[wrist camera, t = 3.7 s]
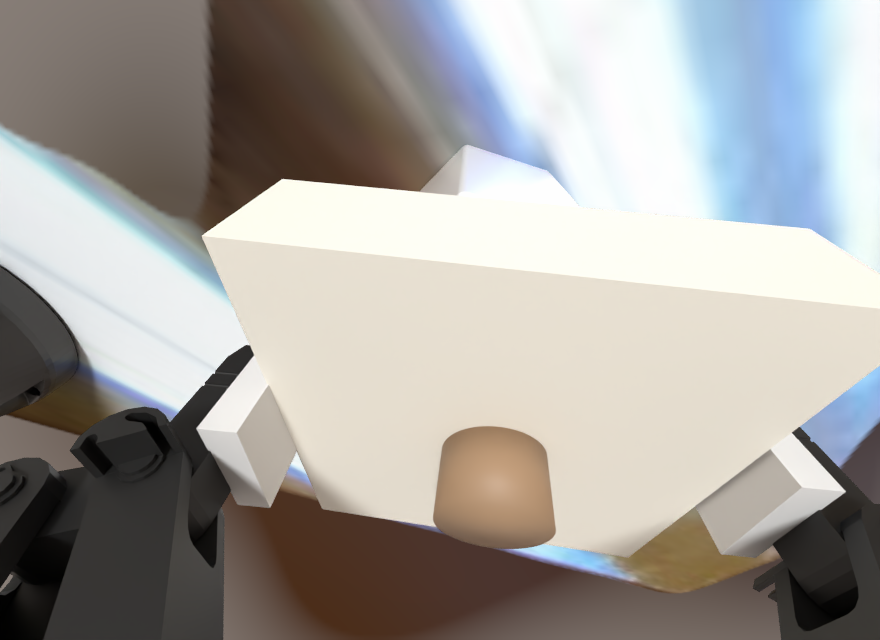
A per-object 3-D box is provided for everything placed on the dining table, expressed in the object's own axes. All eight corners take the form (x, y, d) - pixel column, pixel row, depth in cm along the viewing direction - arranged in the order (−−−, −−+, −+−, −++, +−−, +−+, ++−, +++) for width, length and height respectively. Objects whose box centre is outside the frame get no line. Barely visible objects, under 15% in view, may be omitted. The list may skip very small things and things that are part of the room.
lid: (346, 441, 13) (303, 561, 10) (282, 178, 7) (114, 296, 4) (608, 479, 13) (643, 619, 10) (809, 228, 6) (1102, 415, 3)
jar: (470, 316, 23) (470, 489, 13) (378, 230, 20) (290, 370, 10) (591, 228, 19) (719, 381, 9) (498, 105, 16) (542, 138, 6)
